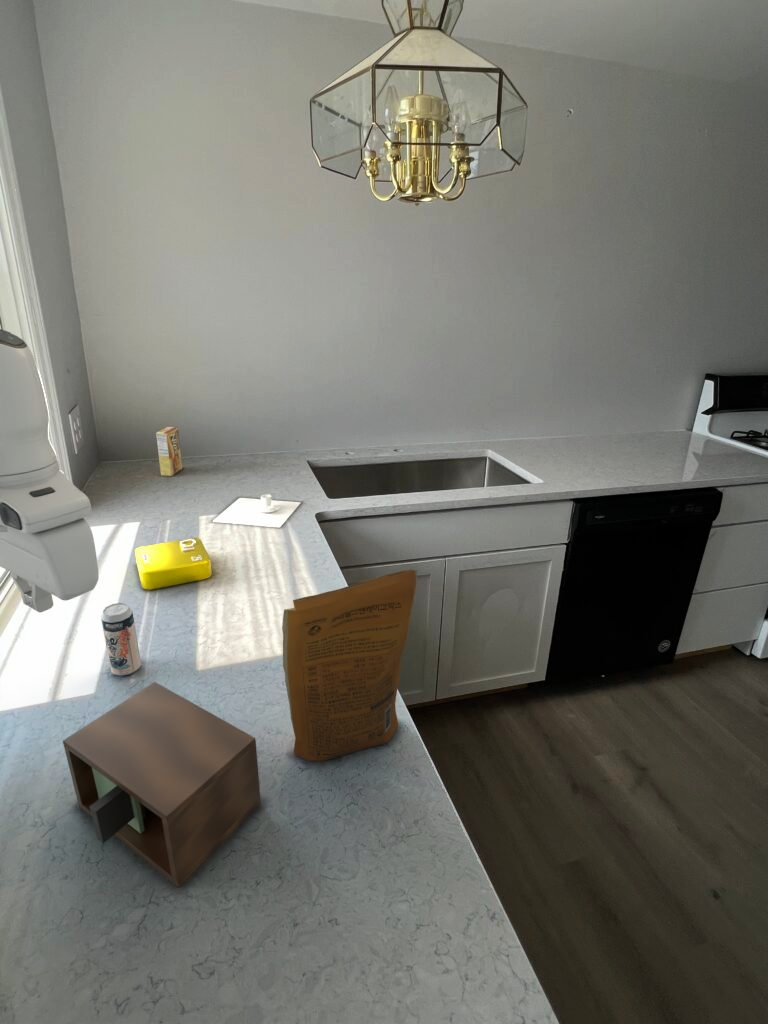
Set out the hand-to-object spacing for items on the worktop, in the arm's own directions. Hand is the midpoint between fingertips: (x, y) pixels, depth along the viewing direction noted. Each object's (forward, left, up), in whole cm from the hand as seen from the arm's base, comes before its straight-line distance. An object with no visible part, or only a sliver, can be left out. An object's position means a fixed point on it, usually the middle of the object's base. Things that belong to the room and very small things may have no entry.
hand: (39, 606), depth 62 cm
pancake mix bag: (+36, +1, -28) cm, 46 cm away
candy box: (-4, +139, -28) cm, 142 cm away
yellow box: (+5, +62, -28) cm, 68 cm away
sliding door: (+4, -7, -27) cm, 28 cm away
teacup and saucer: (+25, +96, -28) cm, 103 cm away
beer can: (+1, +26, -28) cm, 38 cm away
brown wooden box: (+12, -4, -28) cm, 31 cm away
